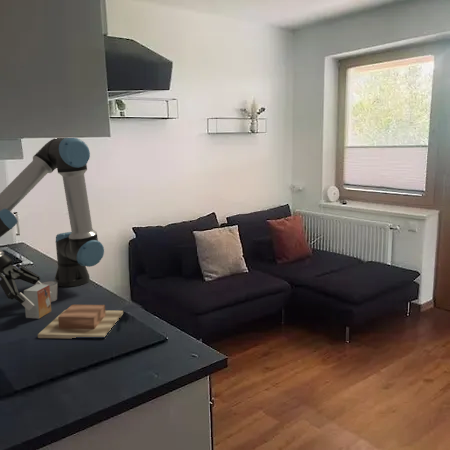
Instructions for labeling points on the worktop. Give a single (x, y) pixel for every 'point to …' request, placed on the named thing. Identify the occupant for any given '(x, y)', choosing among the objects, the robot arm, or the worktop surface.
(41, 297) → the small box
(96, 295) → the worktop surface
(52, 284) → the shot glass
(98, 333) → the tower base
